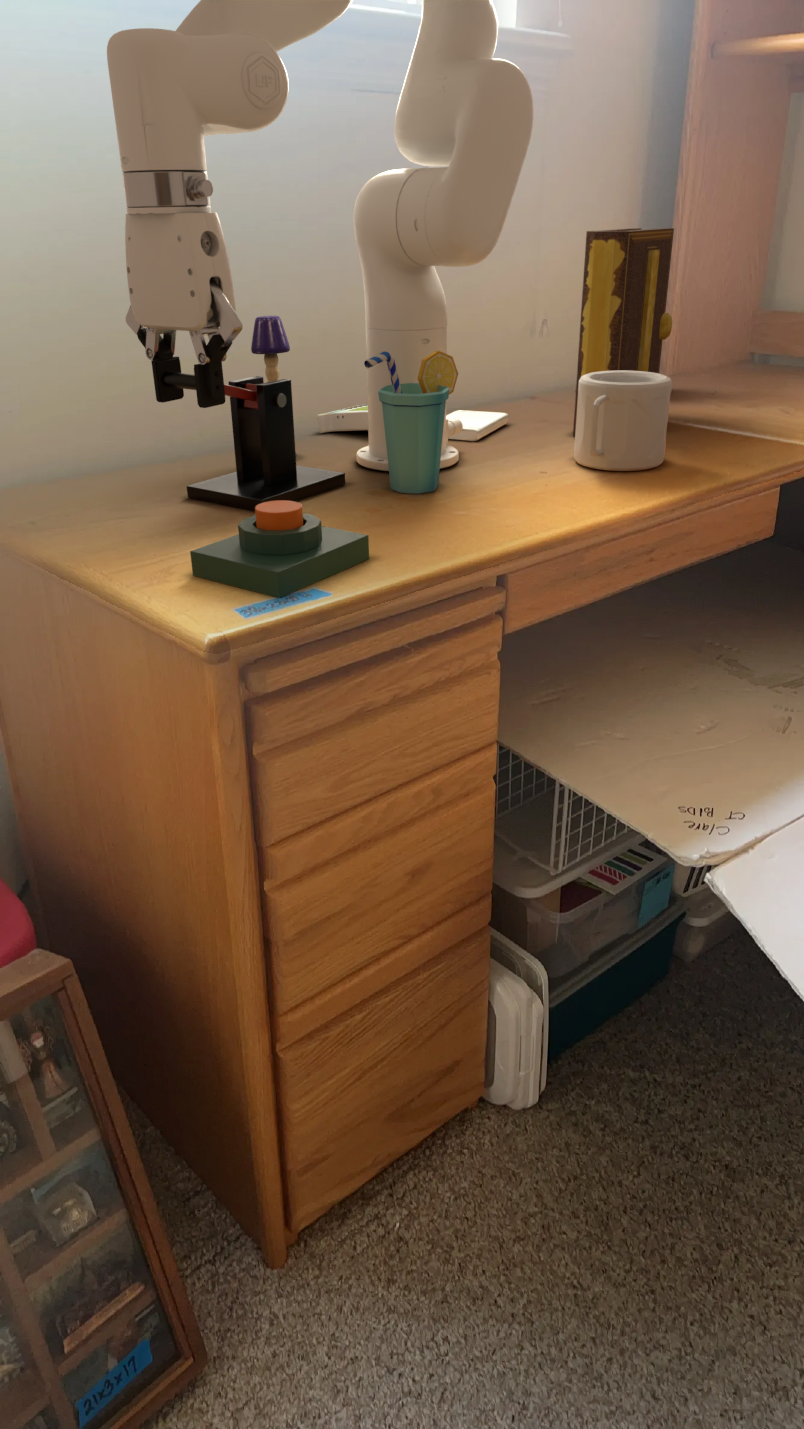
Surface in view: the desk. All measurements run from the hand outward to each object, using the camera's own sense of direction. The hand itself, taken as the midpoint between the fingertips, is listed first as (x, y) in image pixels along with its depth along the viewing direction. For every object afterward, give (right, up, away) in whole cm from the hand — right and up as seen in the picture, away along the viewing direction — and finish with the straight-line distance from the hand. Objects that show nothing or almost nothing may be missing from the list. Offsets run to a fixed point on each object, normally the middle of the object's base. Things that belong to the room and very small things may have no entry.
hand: (190, 400), depth 97 cm
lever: (+3, +1, +4) cm, 5 cm away
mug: (+47, -1, +22) cm, 51 cm away
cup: (+22, -6, +12) cm, 26 cm away
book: (+52, +10, +43) cm, 68 cm away
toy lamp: (+5, +1, +27) cm, 28 cm away
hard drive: (+30, +9, +41) cm, 51 cm away
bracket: (+6, -6, +12) cm, 15 cm away
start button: (+10, -15, -13) cm, 22 cm away
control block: (+10, -18, -11) cm, 24 cm away
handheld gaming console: (+16, +9, +36) cm, 40 cm away
